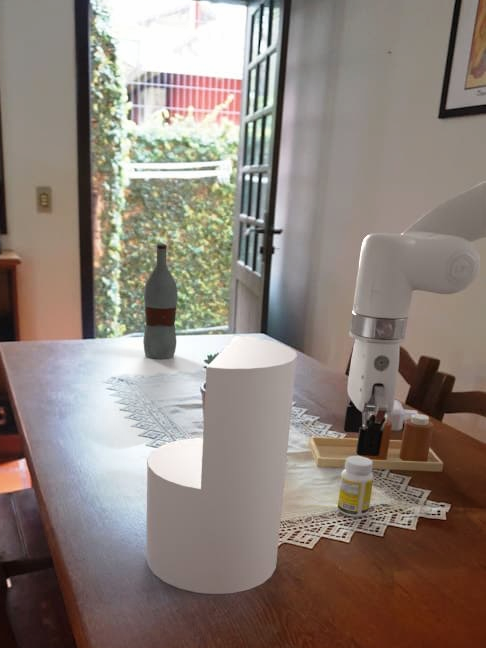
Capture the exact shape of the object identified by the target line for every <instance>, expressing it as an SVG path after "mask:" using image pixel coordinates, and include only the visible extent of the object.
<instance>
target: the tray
mask: <svg viewBox="0 0 486 648" xmlns="http://www.w3.org/2000/svg"><path fill="white" fill-rule="evenodd" d="M357 443H358V438H354V437H353V438H352V437H350V438H349V437H329V436H309V437H308V446H309V449H310V452H311V454H312V457H313V459H314V462H315V464H316V467H317V468H318V467H320V468H344V469H345V463H346V459H347V458H348V457H351V456H359V455H358V454H357V453H356V449H357ZM401 443H402V439H390V441H389V447H388V453H387V459H386V460H372V462H373V466H372V470H391V471H413V472H414V471H416V472H443V468H444V462H443V461H442V460H441V459H440V457H439V456H438V455H437V454H436V453H435V452H434V450H433V449H432V447H430V449H429V454H428V459H427V462H419V461H403V460H401V459H400V457H399V455H400V449H401ZM370 460H371V459H370Z"/></svg>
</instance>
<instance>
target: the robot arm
mask: <svg viewBox="0 0 486 648" xmlns="http://www.w3.org/2000/svg"><path fill="white" fill-rule="evenodd" d="M483 238H486V180H484V181H481V182H479V183H477V184H476V185H474V186H472V187H470V188H468V189H466V190H464V191H462V192H460V193H458V194H455V195H454V196H451V197H450V198H447V199H446V200H444V201H443V202H441V203H439V204H437V205H436V206H434V207H433V208H431V209H430V210H429V211H428V212H426V213H425V214H423V215H422V216H421V217H419V218H418V219H417V220H416V221H414V222H413V223H412V224H410V225H409V226H408V227H407V228H406V229H404V230H403V231H402V232H401V233H392V232H390V233H389V232H373V233H370V234H368V235H366V237H364V239H363V241H362V244H361V247H360V255H359V261H358V262H359V263H358V269H357V276H356V283H355V285H356V286H355V289H354V298H353V307H352V312H351V319H350V328H349V334H348V335H349V337H350V338H352V339H354V344H353V348H352V352H351V359H350V366H349V371H348V379H347V395H348V398H347V402H346V403H347V406H346V408H345V414H344V422H343V432H344V433H357V434H358V435H357V439H358V443H357V449H356V453H357V454H358V455H363V456H378V455H379V453H380V447H381V441H382V435H383V430H384V422H385V420H386V419H385V414H386V413H391V412H392V411H393V408H394V401H395V400H396V395H397V394H396V392H397V385H398V376H399V366H400V351H401V350H400V347H401V346H400V344H401V343H404V341H405V338H406V332H407V326H408V320H409V314H410V308H411V303H412V297H413V292H415V291H422V292H427V293H433V294H439V295H452V294H453V295H454V294H457V293H460V292H463V291H464V290H466V289H467V288H469V287H470V286H471V285H473V283H474V282H475V281H476V279H477V278H478V276H479V273H480V271H481V267H482V260H481V255H480V252H479V250H478V249H477V247H476V246H475V245H474V244H473V243H472V242H475V241H478V240H480V239H483ZM367 406H375V407H367ZM368 414H372V415H371V416H370V418H369V420H368Z"/></svg>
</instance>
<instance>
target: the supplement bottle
mask: <svg viewBox="0 0 486 648" xmlns="http://www.w3.org/2000/svg"><path fill="white" fill-rule="evenodd" d="M372 466H373V462H372V460H370V459H368V458H366V457H362V456H351V457H348V458H347V459H346V463H345V468H344V469H343V470H342V471H341V475H340V482H339V483H340V484H339V492H338V500H337V510H338V512H339V513H341V514H342V515H344V516H348V517H351V518H361V517H365V516H366V515H368V514H369V510H370V505H371V499H372V498H371V496H372V491H373V483H374V474H373V473H372V471H373V469H372Z"/></svg>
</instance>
